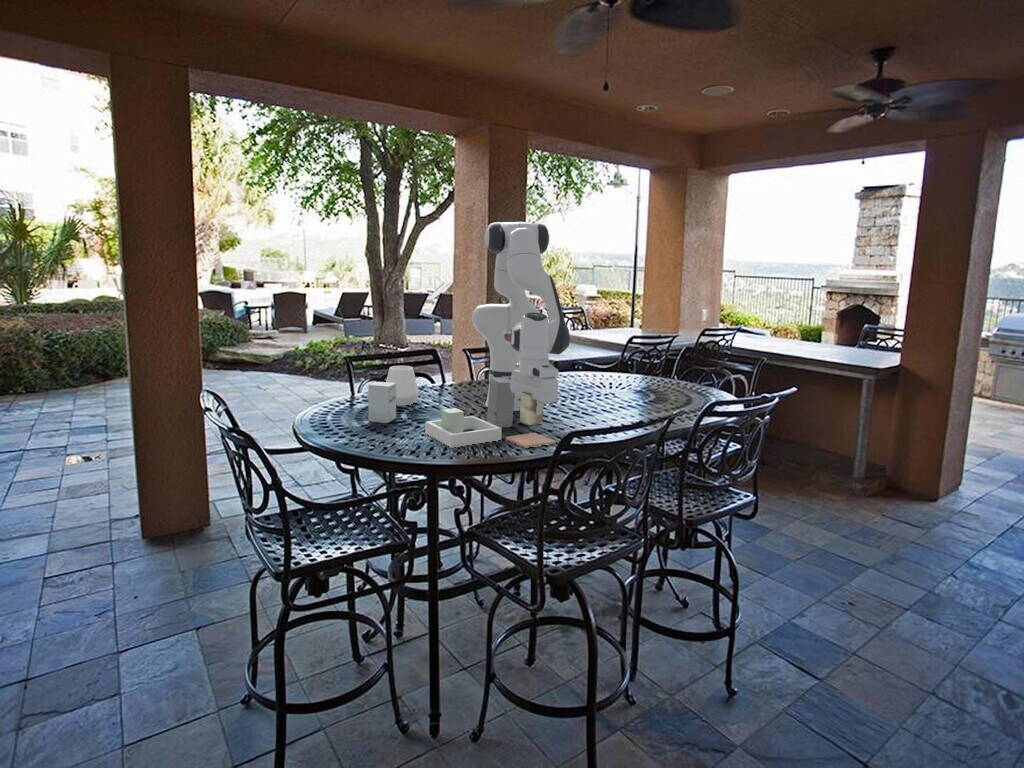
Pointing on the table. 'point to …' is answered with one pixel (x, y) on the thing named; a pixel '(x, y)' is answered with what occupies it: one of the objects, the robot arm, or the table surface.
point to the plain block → (452, 420)
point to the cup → (404, 384)
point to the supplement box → (382, 402)
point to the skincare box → (500, 402)
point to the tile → (530, 440)
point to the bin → (480, 435)
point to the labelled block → (529, 410)
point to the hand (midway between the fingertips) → (531, 412)
